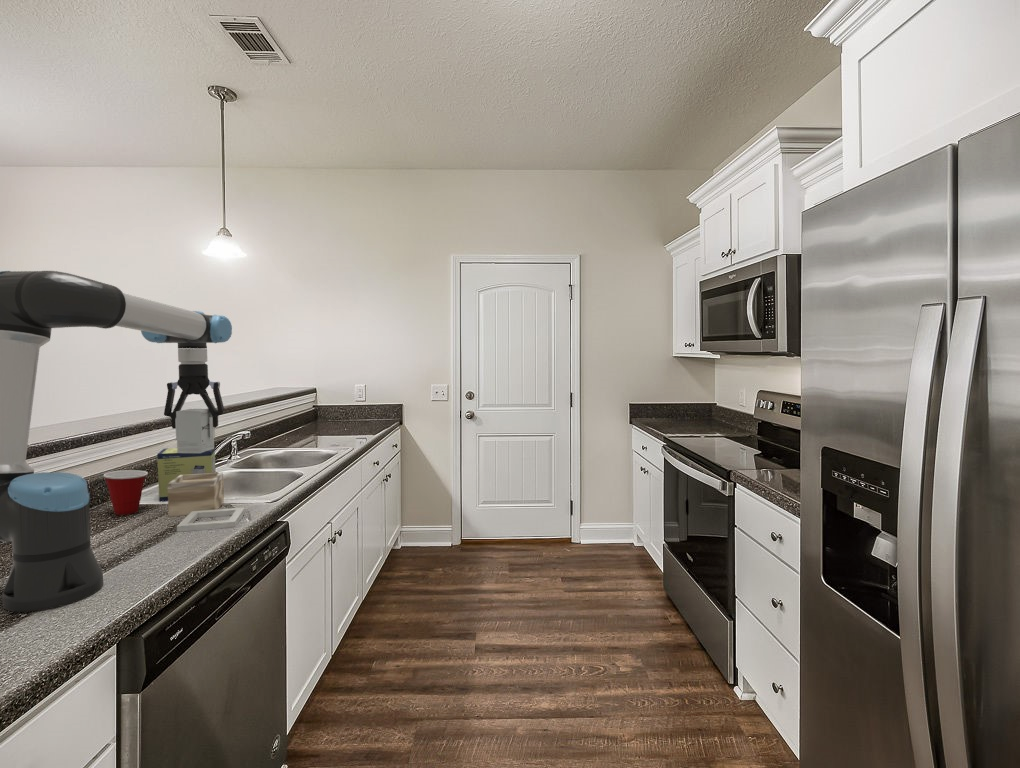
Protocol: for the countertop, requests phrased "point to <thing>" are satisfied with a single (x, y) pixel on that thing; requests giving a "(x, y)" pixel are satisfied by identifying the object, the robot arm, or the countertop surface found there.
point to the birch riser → (195, 493)
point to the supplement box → (193, 431)
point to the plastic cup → (125, 490)
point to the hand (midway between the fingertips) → (195, 438)
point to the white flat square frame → (191, 526)
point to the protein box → (181, 466)
